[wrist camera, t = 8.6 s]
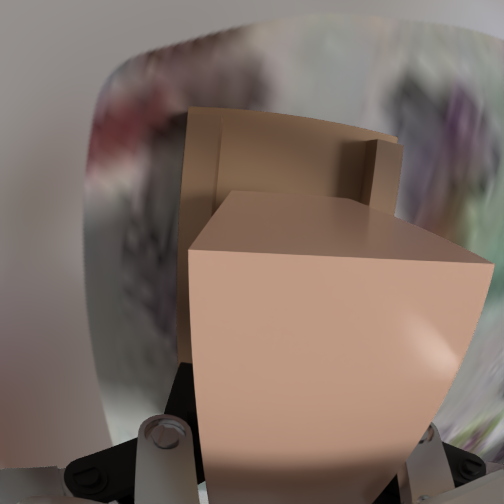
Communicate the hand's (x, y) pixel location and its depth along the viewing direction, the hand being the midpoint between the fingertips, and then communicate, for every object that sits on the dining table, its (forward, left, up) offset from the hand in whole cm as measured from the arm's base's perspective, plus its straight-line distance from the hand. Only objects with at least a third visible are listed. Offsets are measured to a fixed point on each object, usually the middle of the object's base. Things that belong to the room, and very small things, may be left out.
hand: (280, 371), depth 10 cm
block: (0, 0, -1) cm, 1 cm away
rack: (0, 0, -5) cm, 5 cm away
